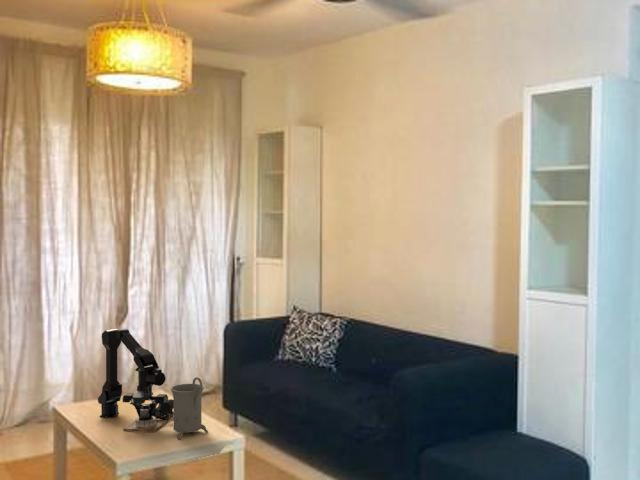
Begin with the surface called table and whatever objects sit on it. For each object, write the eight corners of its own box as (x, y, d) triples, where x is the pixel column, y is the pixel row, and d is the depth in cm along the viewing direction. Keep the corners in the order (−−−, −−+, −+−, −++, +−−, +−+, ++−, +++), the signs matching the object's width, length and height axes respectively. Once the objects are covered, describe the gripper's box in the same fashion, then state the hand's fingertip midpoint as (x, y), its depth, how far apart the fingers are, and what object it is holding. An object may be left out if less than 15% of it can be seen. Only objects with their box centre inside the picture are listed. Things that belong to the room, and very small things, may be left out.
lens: (138, 422, 287) (137, 406, 287) (142, 419, 292) (142, 403, 291) (148, 423, 286) (148, 407, 286) (152, 420, 291) (152, 404, 291)
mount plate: (123, 430, 283) (123, 422, 283) (137, 420, 297) (137, 413, 297) (154, 432, 281) (154, 424, 281) (167, 422, 295) (167, 414, 295)
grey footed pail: (161, 433, 280) (160, 374, 279) (190, 425, 291) (190, 368, 290) (186, 443, 267) (186, 381, 266) (216, 435, 278) (216, 375, 277)
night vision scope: (171, 416, 312) (186, 404, 310) (154, 429, 294) (171, 415, 292) (160, 403, 312) (175, 390, 310) (143, 415, 295) (159, 401, 293)
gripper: (116, 386, 282) (116, 422, 282) (158, 387, 279) (158, 424, 280) (127, 379, 293) (128, 414, 293) (168, 381, 290) (168, 416, 291)
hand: (145, 417), depth 289 cm, fingers closed on lens, 5 cm apart
